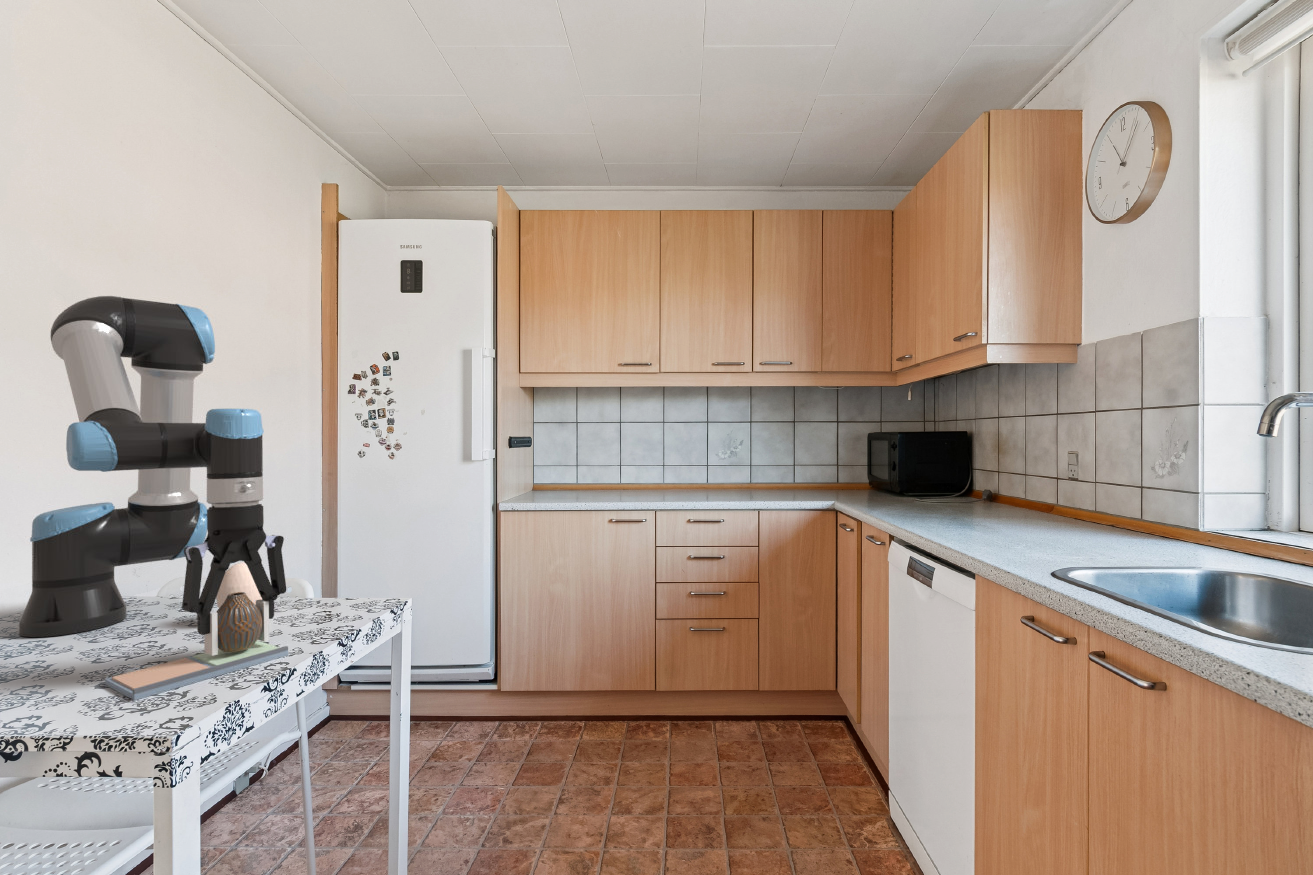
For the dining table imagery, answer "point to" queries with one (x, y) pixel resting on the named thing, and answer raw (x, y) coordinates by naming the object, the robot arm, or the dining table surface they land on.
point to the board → (191, 670)
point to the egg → (238, 584)
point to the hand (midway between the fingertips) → (237, 646)
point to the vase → (238, 623)
